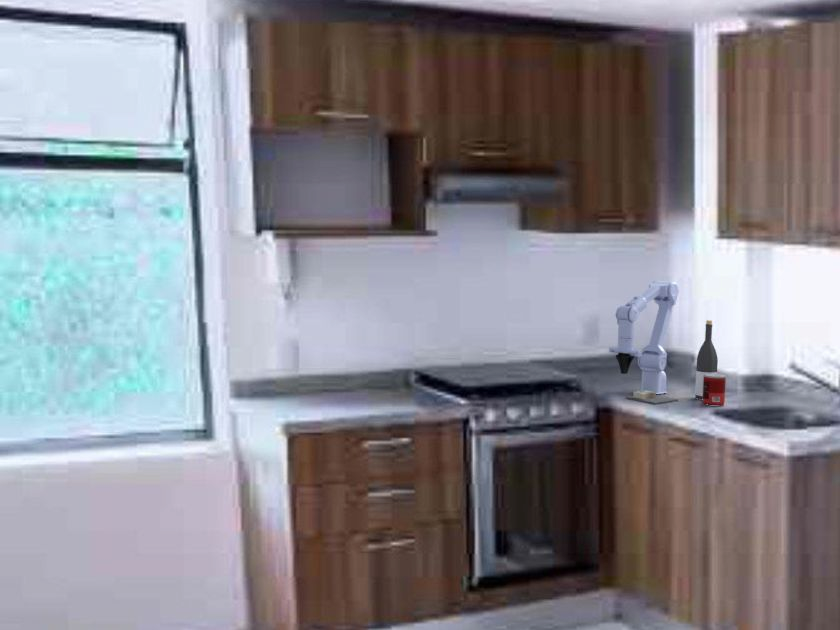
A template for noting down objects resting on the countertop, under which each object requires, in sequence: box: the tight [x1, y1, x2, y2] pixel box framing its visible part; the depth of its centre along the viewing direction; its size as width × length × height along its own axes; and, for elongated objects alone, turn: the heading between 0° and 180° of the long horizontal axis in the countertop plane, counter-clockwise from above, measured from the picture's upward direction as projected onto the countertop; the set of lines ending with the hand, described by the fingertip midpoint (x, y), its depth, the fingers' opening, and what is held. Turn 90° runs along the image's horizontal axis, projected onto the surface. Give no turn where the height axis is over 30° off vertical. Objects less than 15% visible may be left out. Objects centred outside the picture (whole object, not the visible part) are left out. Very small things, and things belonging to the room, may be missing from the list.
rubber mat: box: [625, 394, 679, 405], centre depth 382 cm, size 13×14×1 cm
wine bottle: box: [694, 319, 719, 400], centre depth 386 cm, size 8×8×30 cm
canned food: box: [702, 373, 727, 406], centre depth 375 cm, size 8×8×11 cm
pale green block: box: [632, 390, 656, 399], centre depth 383 cm, size 7×2×5 cm
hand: (624, 373), depth 384 cm, fingers closed
